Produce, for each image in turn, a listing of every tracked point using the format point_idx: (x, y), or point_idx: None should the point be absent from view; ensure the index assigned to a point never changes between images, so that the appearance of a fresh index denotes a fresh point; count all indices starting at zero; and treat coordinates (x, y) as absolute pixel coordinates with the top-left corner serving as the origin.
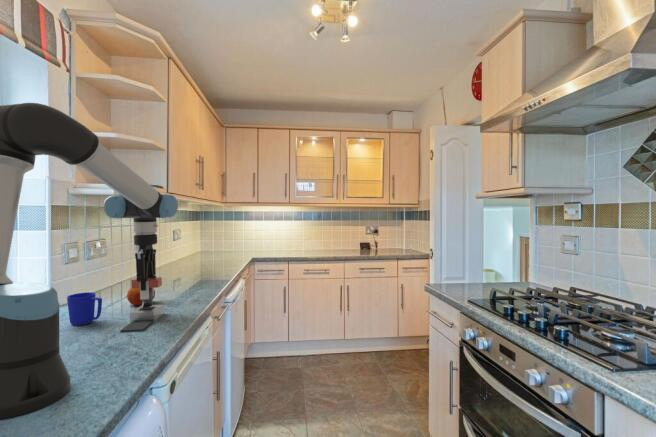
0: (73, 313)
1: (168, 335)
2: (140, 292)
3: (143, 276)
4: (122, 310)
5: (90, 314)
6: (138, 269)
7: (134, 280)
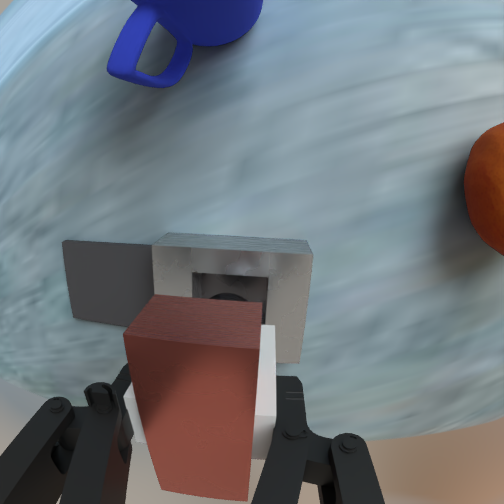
0: None
1: (55, 381)
2: None
3: (52, 454)
4: (414, 116)
5: (178, 37)
6: (6, 473)
7: (130, 359)
